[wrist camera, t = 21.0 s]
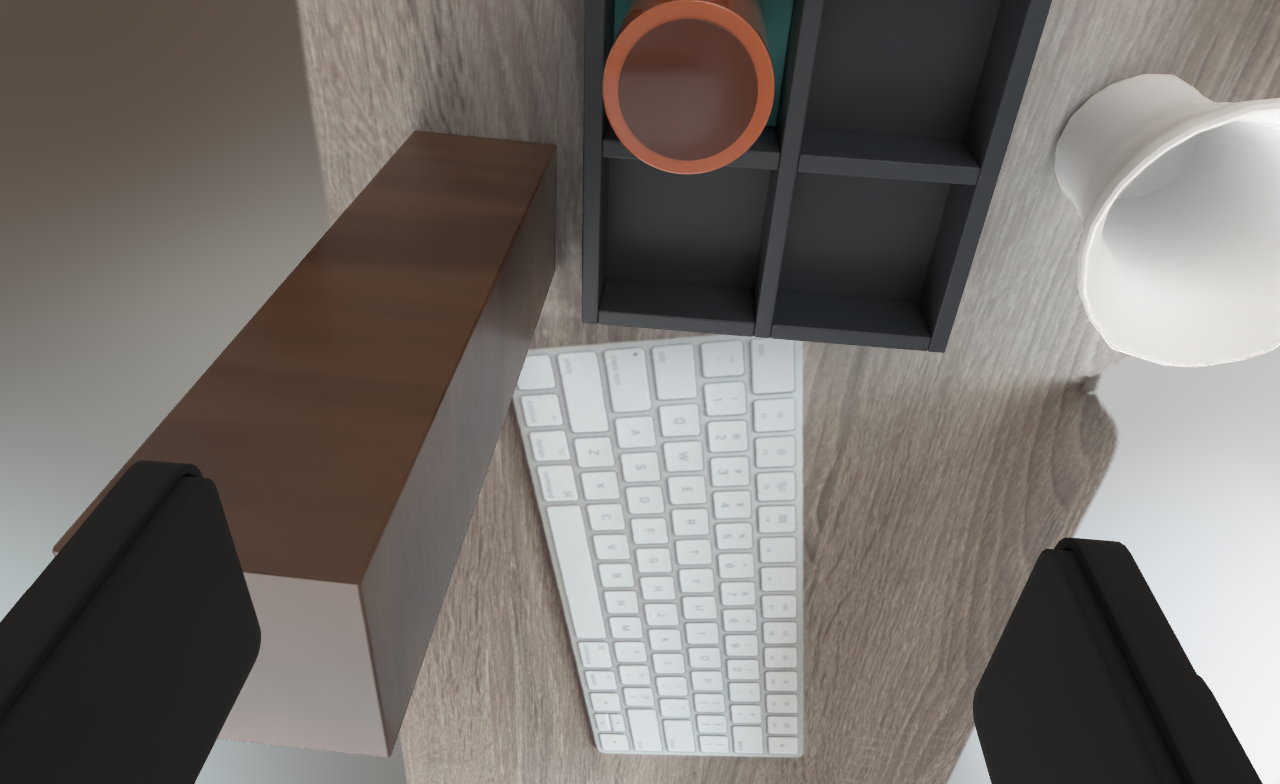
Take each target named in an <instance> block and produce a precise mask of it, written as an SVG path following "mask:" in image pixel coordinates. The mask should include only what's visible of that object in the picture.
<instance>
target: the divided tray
mask: <svg viewBox="0 0 1280 784" xmlns="http://www.w3.org/2000/svg"><path fill="white" fill-rule="evenodd" d="M630 2H631V0H585V48H584V143H583V238H582V323H591V324H597V323H599V324H605V325H617V326H630V327H642V328H654V329H666V330H678V331H690V332H702V333H715V334H727V335H739V336H751V337H752V336H753V335H754V336H755V337H763V338H769V337H771V338H775V339H787V340H799V341H812V342H824V343H836V344H848V345H860V346H872V347H884V348H897V349H909V350H921V351H927V350H928V351H930V352H942V353H944V352H945V349H946V346H947V343H948V339H949V336H950V333H951V330H952V326H953V323H954V320H955V316H956V313H957V310H958V307H959V303H960V300H961V297H962V294H963V290H964V287H965V284H966V280H967V277H968V274H969V271H970V267H971V264H972V261H973V258H974V254H975V251H976V248H977V244H978V241H979V238H980V235H981V231H982V228H983V225H984V221H985V218H986V215H987V212H988V208H989V205H990V202H991V199H992V195H993V192H994V189H995V185H996V182H997V179H998V176H999V172H1000V169H1001V166H1002V163H1003V159H1004V156H1005V153H1006V149H1007V146H1008V143H1009V140H1010V136H1011V133H1012V130H1013V126H1014V123H1015V120H1016V117H1017V113H1018V110H1019V107H1020V104H1021V100H1022V97H1023V94H1024V90H1025V87H1026V84H1027V81H1028V77H1029V74H1030V71H1031V68H1032V64H1033V61H1034V58H1035V54H1036V51H1037V48H1038V45H1039V41H1040V38H1041V35H1042V32H1043V28H1044V25H1045V22H1046V18H1047V15H1048V12H1049V9H1050V5H1051V2H1052V0H760V3H761V6H762V10H763V14H764V20H765V26H766V31H767V37H768V43H769V48H770V54H771V60H772V65H773V72H774V79H775V92H774V101H773V105H772V109H771V113H770V116H769V118H768V121H767V124H766V125H765V127H764V129H763V131H762V133H761V134H760V136H759V137H758V139H757V140H756V141H755V143H754V144H753V145H752V146H751V147H750V148H749V149H748V150H747V151H746V152H745V153H744V154H743V155H741V156H740V157H739V158H737V159H736V160H734V161H733V162H731V163H730V164H728V165H726V166H723V167H721V168H719V169H716V170H713V171H710V172H706V173H701V174H689V175H688V174H675V173H670V172H666V171H662V170H659V169H656V168H654V167H652V166H650V165H648V164H646V163H644V162H643V161H641V160H640V159H638V158H637V157H636V156H635V155H633V154H632V153H631V152H630V151H629V150H628V149H627V148H626V147H625V146H624V145H623V144H622V142H621V141H620V140H619V138H618V137H617V136H616V134H615V132H614V130H613V129H612V127H611V125H610V122H609V120H608V117H607V114H606V110H605V107H604V101H603V75H604V69H605V65H606V61H607V58H608V56H609V53H610V51H611V48H612V46H613V43H614V41H615V38H616V36H617V33H618V31H619V29H620V26H621V24H622V21H623V19H624V16H625V14H626V11H627V9H628V6H629V4H630Z"/></svg>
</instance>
